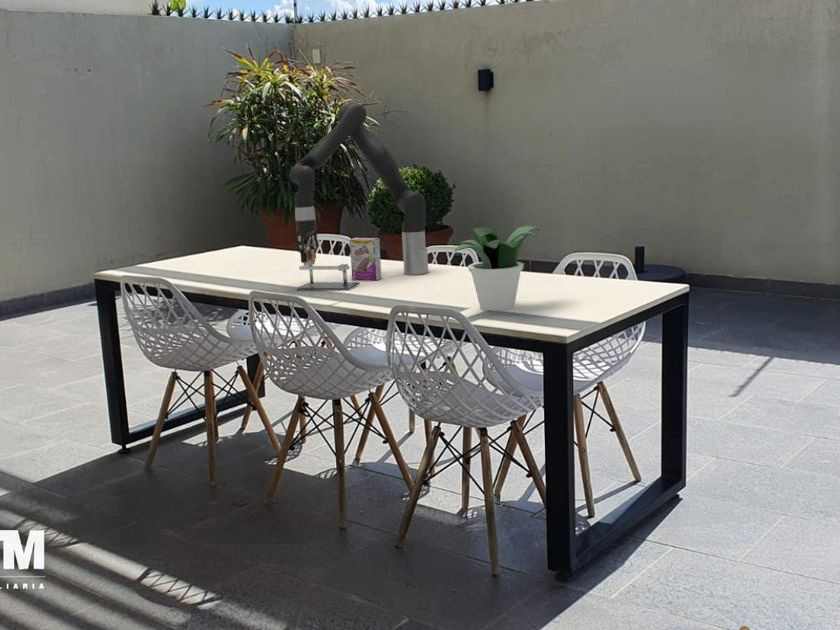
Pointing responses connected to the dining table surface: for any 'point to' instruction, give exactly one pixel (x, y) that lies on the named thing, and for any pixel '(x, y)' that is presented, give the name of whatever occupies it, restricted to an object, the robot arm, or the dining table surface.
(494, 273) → the potted plant
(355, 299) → the dining table surface
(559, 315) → the dining table surface
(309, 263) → the block
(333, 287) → the bolt plate
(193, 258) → the dining table surface
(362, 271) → the candy bar box
